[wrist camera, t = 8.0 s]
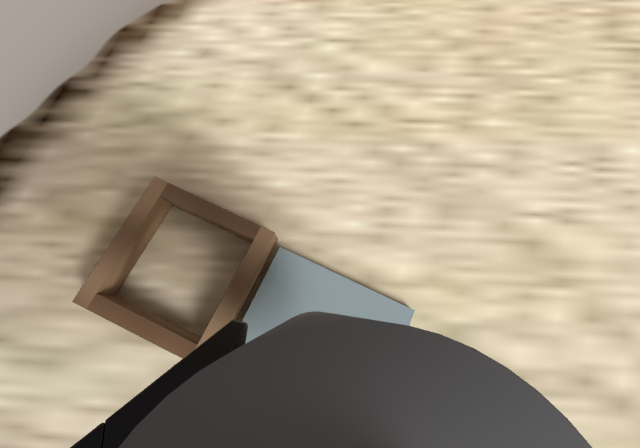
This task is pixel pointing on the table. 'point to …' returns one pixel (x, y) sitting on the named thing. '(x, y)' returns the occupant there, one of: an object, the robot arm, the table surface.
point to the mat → (314, 296)
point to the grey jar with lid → (354, 394)
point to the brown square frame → (131, 244)
